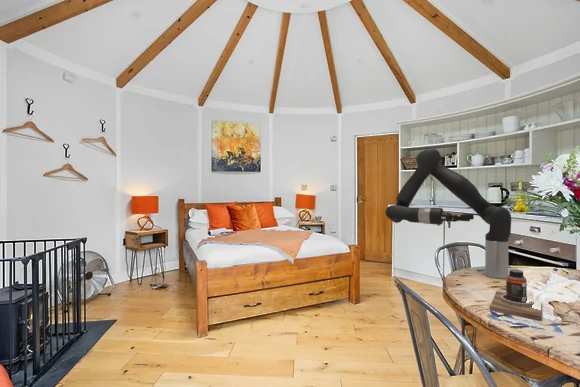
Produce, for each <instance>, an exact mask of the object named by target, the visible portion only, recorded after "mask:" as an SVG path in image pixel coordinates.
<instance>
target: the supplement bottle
mask: <svg viewBox="0 0 580 387" xmlns="http://www.w3.org/2000/svg"><path fill="white" fill-rule="evenodd" d="M505 279H506V280H505V282H506V283H505V284H506V285H505V290H506V291H505V292H506V299H507V300H510V301H513V302H518V303H526V301H527V296H528V295H527V290H528V289H527V288H528V287H527V286H528V285H527V284H528V283H527V280H528V279H527V278H526V277H524V271H523V270H520V269H509V273H508V276H507V277H506V278H505Z"/></svg>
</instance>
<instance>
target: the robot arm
mask: <svg viewBox="0 0 580 387" xmlns="http://www.w3.org/2000/svg"><path fill="white" fill-rule="evenodd" d="M441 157H442V156H441V153H440V151H439V150H438V149H437V148H427V149H424V150H422V151H420V152H419V153H418V154H417V155H416V158H415V162H416V164H417V168H416V169H415V170H414V172H413V173H412V175H411V176H410V177H409V178H408V180H407V181H406V182H405V183H404V184H403V186H402V188H401V189H400V190H399V193H398V194H397V196H396V199H395V201H396V204H391V205H389V206H387V208H386V209H385V216H386V217H387V218H388V219H389V220H390V221H392V222H393V223H395V224H398V223H401V222H402V221H407V222H409V223H413V224H414V223H415V224H417V223H418V224H426V225H440V226H441V225H443V224H444V222H453V223H455V222H470V221H471V220H474V219H475V217H474V214H471V213H463V212H455V211H454V212H452V211H447V212H444V208H442V207H426V206H425V207H410V204H411V203H412V201H413V200H414V198H415V196H416V195H417V193H418V191H419V190H420V188H421V187H422V185H423V184H424V182H425V181H426V179H427V178H428V176H429V175H431V176H432V177H433V178H435V179H436V180H437V181H438V182H439V183H440V184H441V185H443V187H445V188H446V189H447V190H448V191H450V192H451V194H453V195H454V196H455V197H456V198H458V199H459V200H460V201H462V203H464V204H466V205H467V206H468V207H469V208H471V209H472V210H473V211H474V212H475V213H476V215H478V216H479V218H481V219H482V220H483V221H484V222H485V223H486V224H487V225H489V230H488V232H487V233H485V240H484V241H485V243H484V244H485V246H484V247H485V250H484V252H485V253H484V254H485V256H484V261H485V262H484V263H485V265H484V273H485V274H484V275H485V276H486V277H489V278H492V279H501V280H502V279H506V277H507V276H508V275H509V239H510V236H511V232H512V231H511V230H512V214H511V212H510V211H509V209H507V208H505V207H502V206H501V207H500V206H496V205H493V204H492V203H491V202H489V201H487V199H486V198H484V197H483V195H482V194H481V193H480V191H479V189H478V188H477V186H475V185H474V184H473V183H472V182H471V181H470V180H469V179H468V178H466V177H465V176H464V175H462V174H460V173H458V172H457V171H454V170H452V169H450V168H448V167H447V166H445V165H444V164H443V163H441Z"/></svg>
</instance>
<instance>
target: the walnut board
mask: <svg viewBox="0 0 580 387" xmlns="http://www.w3.org/2000/svg"><path fill="white" fill-rule="evenodd" d="M533 304H534V302H532V301H531V302H529V303H518V302H513V301H510V300H507V299H506V291H505V292H504V291H499V290H496V291H495V293H494V296H493V298H492V301H491V303H490V305H489V311H491V310H492V312H497V313H501V314H502V313H503V314H507V315H510V316H511V315H512V316H515V317H522V318H527V319H531V320H536V321H541V322H542V320H543V319H542V316H543V315H542V311H543V309H542V310H538V309H534V308H532V305H533Z"/></svg>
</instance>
